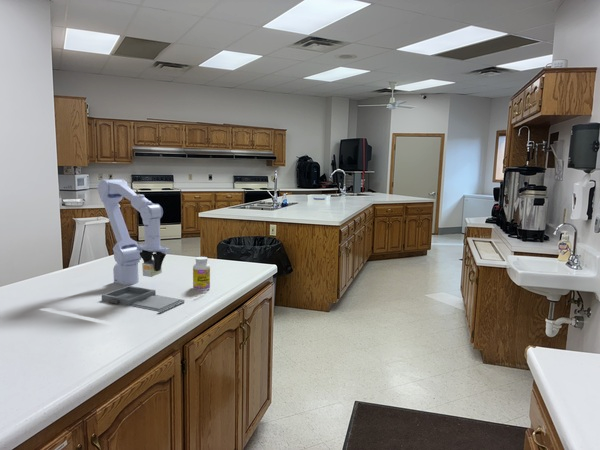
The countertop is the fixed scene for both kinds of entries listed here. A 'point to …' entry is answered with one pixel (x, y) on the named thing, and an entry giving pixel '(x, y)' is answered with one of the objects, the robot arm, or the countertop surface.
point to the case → (141, 299)
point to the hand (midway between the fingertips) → (153, 270)
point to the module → (150, 268)
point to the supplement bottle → (201, 274)
